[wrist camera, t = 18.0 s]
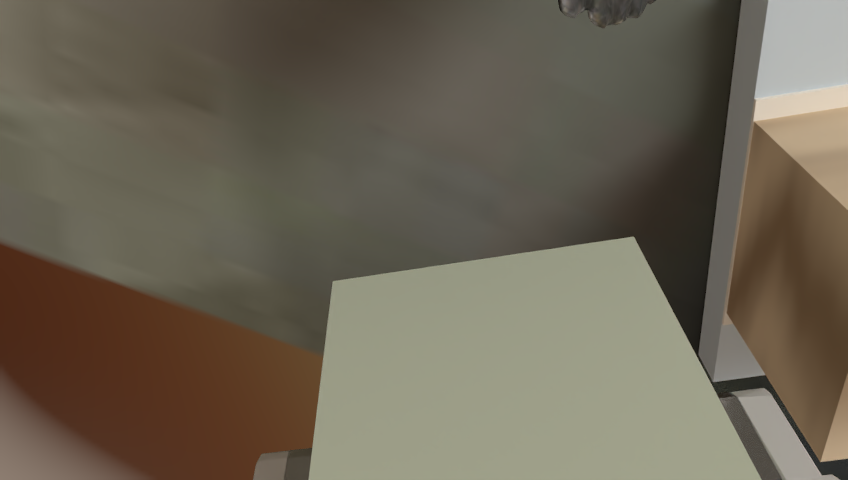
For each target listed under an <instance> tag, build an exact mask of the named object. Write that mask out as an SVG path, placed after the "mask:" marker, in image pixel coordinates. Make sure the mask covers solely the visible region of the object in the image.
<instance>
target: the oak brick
mask: <svg viewBox="0 0 848 480" xmlns="http://www.w3.org/2000/svg"><path fill="white" fill-rule="evenodd" d="M727 315H728V316H729V318H730V319H731V321H732V322H733V324H734V326H735V327H736V329H737V330H738V332H739V334H740V335H741V337H742V338H743V340H744V342H745V343H746V345H747V346H748V348H749V349H750V351H751V353H752V354H753V356H754V357H755V359H756V361H757V362H758V364H759V365H760V367H761V369H762V370H763V372H764V373H765V375H766V376H767V378H768V380H769V381H770V383H771V384H772V386H773V388H774V389H775V391H776V392H777V394H778V395H779V397H780V399H781V400H782V402H783V403H784V405H785V407H786V408H787V410H788V411H789V413H790V415H791V416H792V418H793V419H794V421H795V422H796V424H797V426H798V427H799V429H800V430H801V432H802V434H803V435H804V437H805V438H806V440H807V442H808V443H809V445H810V446H811V448H812V449H813V451H814V453H815V454H816V456H817V457H818V459H819V461H820V462H824V461H832V460H839V459H847V458H848V107H841V108H835V109H829V110H822V111H816V112H810V113H804V114H797V115H791V116H785V117H778V118H772V119H766V120H760V121H754V126H753V133H752V140H751V146H750V153H749V160H748V167H747V174H746V181H745V188H744V195H743V202H742V209H741V216H740V223H739V230H738V237H737V244H736V251H735V258H734V265H733V272H732V279H731V286H730V293H729V299H728V306H727Z"/></svg>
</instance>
